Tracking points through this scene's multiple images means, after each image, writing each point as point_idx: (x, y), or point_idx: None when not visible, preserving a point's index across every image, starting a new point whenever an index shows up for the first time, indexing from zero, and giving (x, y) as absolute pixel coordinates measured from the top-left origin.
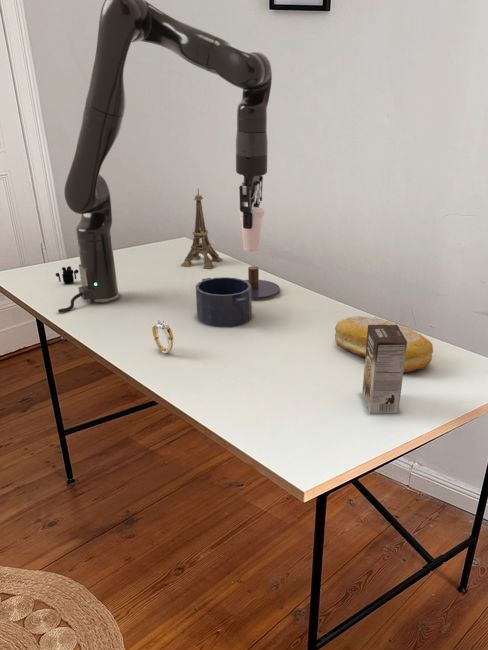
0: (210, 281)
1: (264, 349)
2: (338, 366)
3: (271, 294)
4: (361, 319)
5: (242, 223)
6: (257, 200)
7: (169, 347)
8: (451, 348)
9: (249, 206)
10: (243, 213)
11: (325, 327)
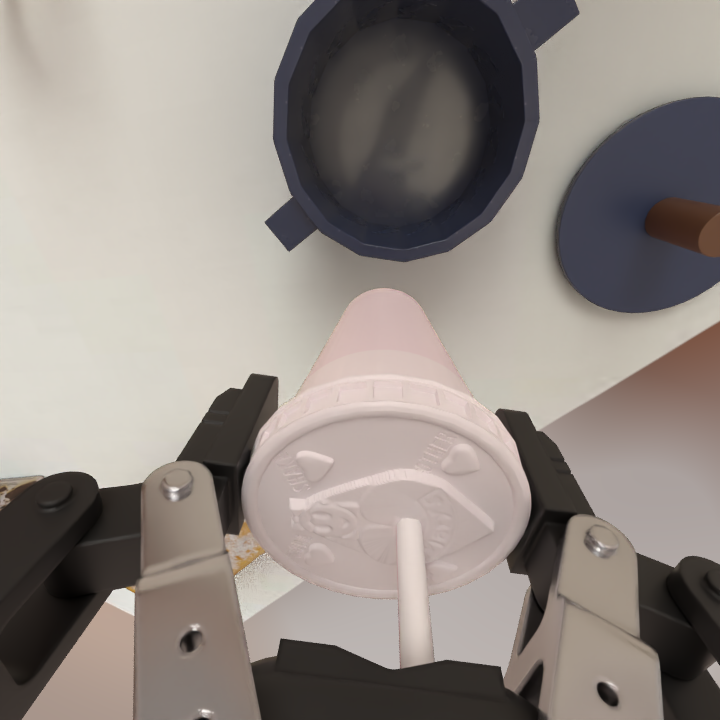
0: (501, 33)
1: (171, 294)
2: (140, 445)
3: (580, 289)
4: (241, 529)
5: (319, 368)
6: (519, 639)
7: None
8: (279, 595)
9: (14, 621)
10: (204, 458)
11: None
